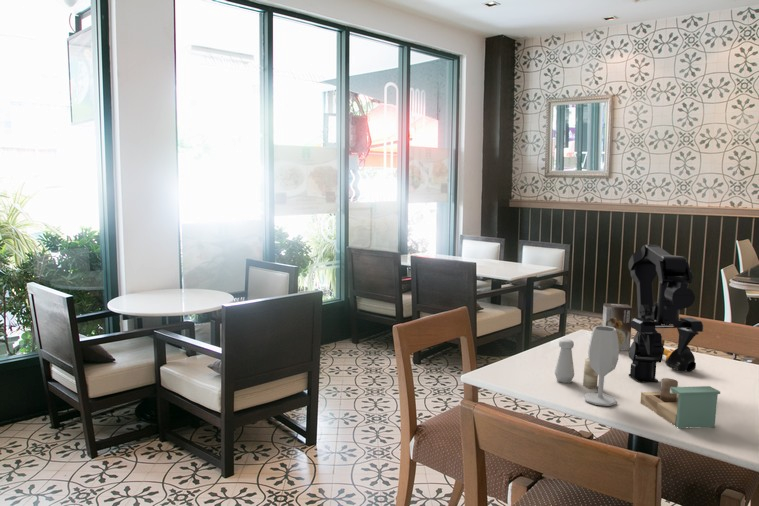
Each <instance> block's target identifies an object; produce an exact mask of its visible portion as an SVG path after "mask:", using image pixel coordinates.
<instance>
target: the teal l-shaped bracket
mask: <svg viewBox="0 0 759 506" xmlns="http://www.w3.org/2000/svg"><path fill="white" fill-rule="evenodd" d="M670 393H671V394H679V395H678V406H677V417H676V426H675V427H676V428H677V427H678V428H677V429H691V428H690V427H701V428H715V427H714V426H716V415H717V407H718V406H717V405H718V396H719V395H721V391H720V390H718V389H716V388H714V387H713V386H710V385H707V386H706V385H703V386H699V385H698V386H678V387H670ZM686 427H688V428H686Z"/></svg>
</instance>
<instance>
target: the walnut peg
mask: <svg viewBox="0 0 759 506" xmlns="http://www.w3.org/2000/svg"><path fill="white" fill-rule="evenodd" d="M678 385H679V381H678V380H677V379H674V378H669V377H666V378H665V377H663V378H661V382H660V392H661V394H660V400H662V401H663V402H665V403H667V402H676V399H677V394H671V393H670V387H679V386H678Z"/></svg>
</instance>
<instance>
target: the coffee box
mask: <svg viewBox="0 0 759 506" xmlns="http://www.w3.org/2000/svg"><path fill="white" fill-rule="evenodd" d="M602 307H603V308H602V309H603V310H602V325H601V326H609V327H613V328H615V329H616V332H617V336H618V344H619V351H629V349H630V347H631V339H632V338H631V336H632V328H631V322H632V320H633V307H632V306H631V305H630V304H623V303H621V304H620V303H605V302H604V303H603V306H602Z"/></svg>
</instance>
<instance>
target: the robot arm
mask: <svg viewBox="0 0 759 506" xmlns="http://www.w3.org/2000/svg"><path fill="white" fill-rule="evenodd" d="M628 271H629V272H630V277H631V279H632V281H634V283H635V284H636V298H637V299H636V300H637V317H634V318H632V322H631V329H633V330H635V332H636V333H635V334H634V336H633V342H632V343H631V344H630V349H629V350H628V358H629V359H630V360H631V363H630V369H629V370H630V373H628V376H629V377H630V378H632V379H633V380H635V381H636V382H639V383H653V382H654V383H657V382H659V380H658V379H657V378H656V374H657V363H662V360H663V357H664V355H663V353H664V348H665V347H664V344H663V339H662V337H663V336H662V334H661V333H660V332H658V331H657V330H656V329H676V330H677V333H678V343H677V348H678V354H680V355H681V354H682V353H683V351H684V350H685V348H686V347H687V346H688V345H689V344H690V342H691V341H692V340H693V339H694V338H695V336H697V335H699V333H702V332H704V324H703V321H701V320H699V319H696V318H694V317H680V311H683V310H684V309H688V308H690V307H691V306H692V305H693V304H694V303H695V299H696V296H695V294H694V291H693V290H692V289H691V288H689V284H692V283H693V280H692V279H693V273H692V271H691V267H690V264H689V261H688V260H687V258H686V256H683V255H681V256H680V255H672V254H670V253H669V252H668V251H666V250H665V249H663V248H662V246H661V245H658V244H643V245H642V247H641V248H640V249H639V250H637V251H635V252H633V253H632V255H631V256H630V258H629V260H628ZM657 276H658V281H659V284H658V286H659V287H658V294H657V295H658V297H657V301H654V290H653V289H654V286H653V282H654V280H655V279H656V277H657Z"/></svg>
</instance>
